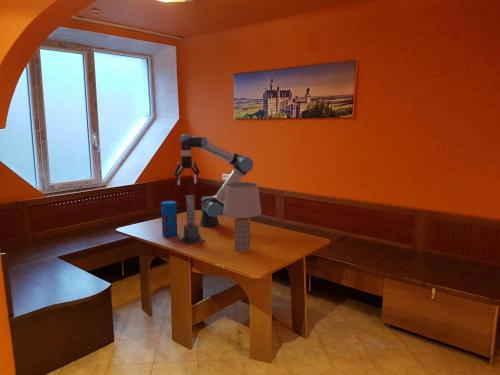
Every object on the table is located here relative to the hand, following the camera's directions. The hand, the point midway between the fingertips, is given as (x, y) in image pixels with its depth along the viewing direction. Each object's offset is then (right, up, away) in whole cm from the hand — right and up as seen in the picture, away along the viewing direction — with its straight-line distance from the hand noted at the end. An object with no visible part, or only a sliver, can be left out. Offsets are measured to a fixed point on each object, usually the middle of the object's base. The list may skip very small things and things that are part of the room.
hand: (187, 184), depth 292 cm
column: (+6, -31, -17) cm, 36 cm away
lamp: (+42, -44, -35) cm, 70 cm away
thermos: (-12, -38, -4) cm, 40 cm away
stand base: (+6, -40, -16) cm, 44 cm away
